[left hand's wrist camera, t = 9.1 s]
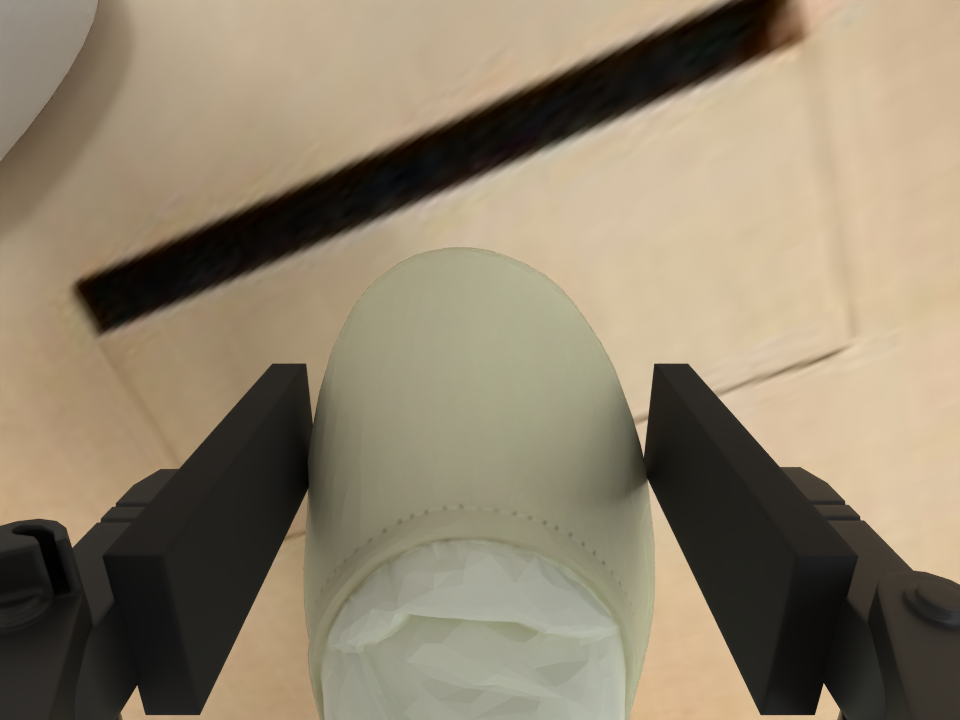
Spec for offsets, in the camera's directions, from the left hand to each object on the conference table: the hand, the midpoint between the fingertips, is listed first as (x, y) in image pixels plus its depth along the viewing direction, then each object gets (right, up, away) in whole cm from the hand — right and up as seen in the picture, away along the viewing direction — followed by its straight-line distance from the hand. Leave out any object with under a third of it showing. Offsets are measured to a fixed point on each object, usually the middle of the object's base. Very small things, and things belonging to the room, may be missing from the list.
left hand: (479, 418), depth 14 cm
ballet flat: (0, -7, +4) cm, 8 cm away
